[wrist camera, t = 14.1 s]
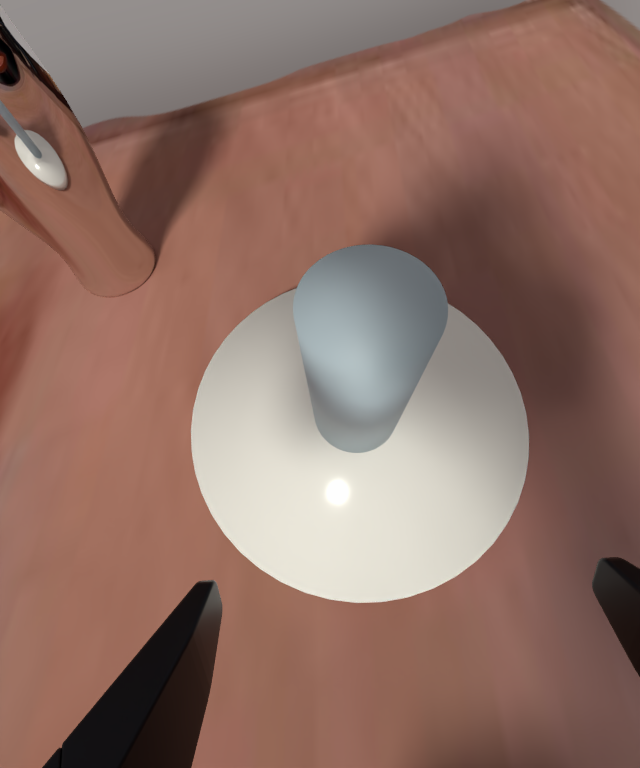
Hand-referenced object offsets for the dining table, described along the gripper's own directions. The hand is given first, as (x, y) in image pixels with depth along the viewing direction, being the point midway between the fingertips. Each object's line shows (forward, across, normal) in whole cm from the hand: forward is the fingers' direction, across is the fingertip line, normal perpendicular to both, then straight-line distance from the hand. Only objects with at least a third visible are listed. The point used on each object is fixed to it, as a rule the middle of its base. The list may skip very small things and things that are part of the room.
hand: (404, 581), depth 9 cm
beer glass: (+24, +18, -6) cm, 31 cm away
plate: (+14, 0, +3) cm, 15 cm away
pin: (+14, 0, +2) cm, 14 cm away
